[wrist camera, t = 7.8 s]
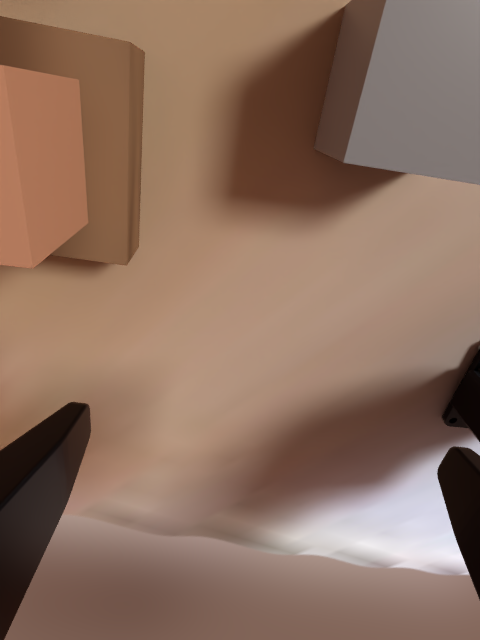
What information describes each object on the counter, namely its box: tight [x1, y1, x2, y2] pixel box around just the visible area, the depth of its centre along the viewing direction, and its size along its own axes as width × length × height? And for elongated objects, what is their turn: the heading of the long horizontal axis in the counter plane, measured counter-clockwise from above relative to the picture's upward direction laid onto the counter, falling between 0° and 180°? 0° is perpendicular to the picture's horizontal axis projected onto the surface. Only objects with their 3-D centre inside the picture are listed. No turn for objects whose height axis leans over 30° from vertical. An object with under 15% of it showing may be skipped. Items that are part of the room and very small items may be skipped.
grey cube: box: [314, 0, 480, 185], centre depth 14 cm, size 5×5×5 cm
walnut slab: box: [0, 16, 145, 266], centre depth 15 cm, size 8×8×3 cm
